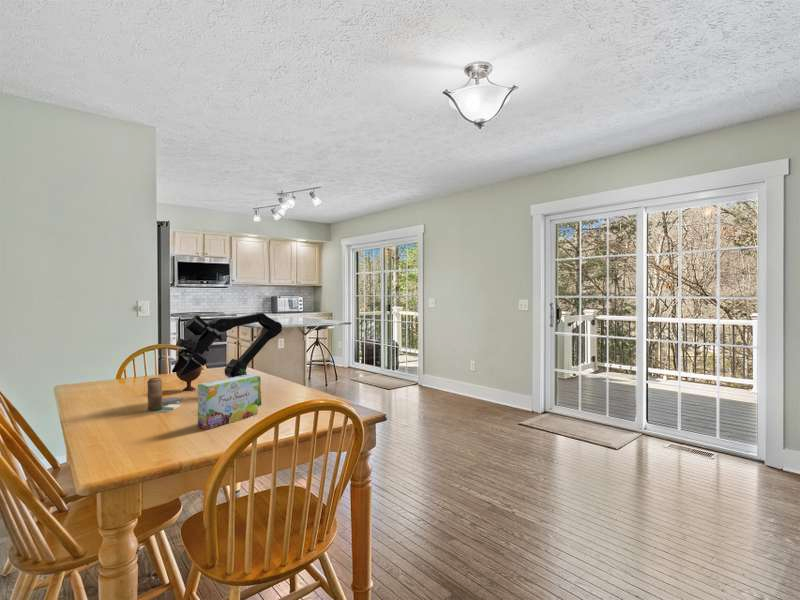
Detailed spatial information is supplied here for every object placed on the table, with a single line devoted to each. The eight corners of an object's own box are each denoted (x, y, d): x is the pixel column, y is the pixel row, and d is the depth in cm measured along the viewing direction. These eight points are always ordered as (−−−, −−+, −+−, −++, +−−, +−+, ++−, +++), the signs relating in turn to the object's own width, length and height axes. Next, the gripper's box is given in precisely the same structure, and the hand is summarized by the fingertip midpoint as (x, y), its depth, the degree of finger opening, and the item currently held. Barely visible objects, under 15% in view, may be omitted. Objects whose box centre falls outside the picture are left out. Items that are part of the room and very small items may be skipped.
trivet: (189, 399, 185) (189, 398, 185) (170, 406, 174) (170, 404, 174) (167, 398, 187) (167, 396, 187) (147, 404, 176) (147, 403, 176)
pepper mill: (165, 408, 170) (164, 377, 170) (155, 411, 165) (155, 380, 165) (154, 407, 171) (153, 377, 171) (145, 411, 166) (144, 379, 166)
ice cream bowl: (206, 387, 206) (205, 356, 206) (193, 393, 195) (192, 360, 195) (185, 387, 207) (184, 356, 207) (170, 393, 196) (169, 359, 196)
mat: (181, 407, 172) (181, 404, 172) (166, 413, 164) (166, 410, 164) (159, 406, 174) (159, 403, 174) (143, 412, 166) (143, 408, 166)
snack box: (207, 431, 144) (206, 385, 144) (197, 428, 147) (196, 383, 147) (259, 414, 162) (258, 374, 162) (249, 412, 165) (248, 373, 165)
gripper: (180, 329, 183) (152, 359, 176) (197, 332, 170) (167, 364, 163) (200, 345, 189) (174, 375, 182) (218, 349, 176) (190, 381, 169)
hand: (176, 373), depth 174 cm, fingers open, 9 cm apart
